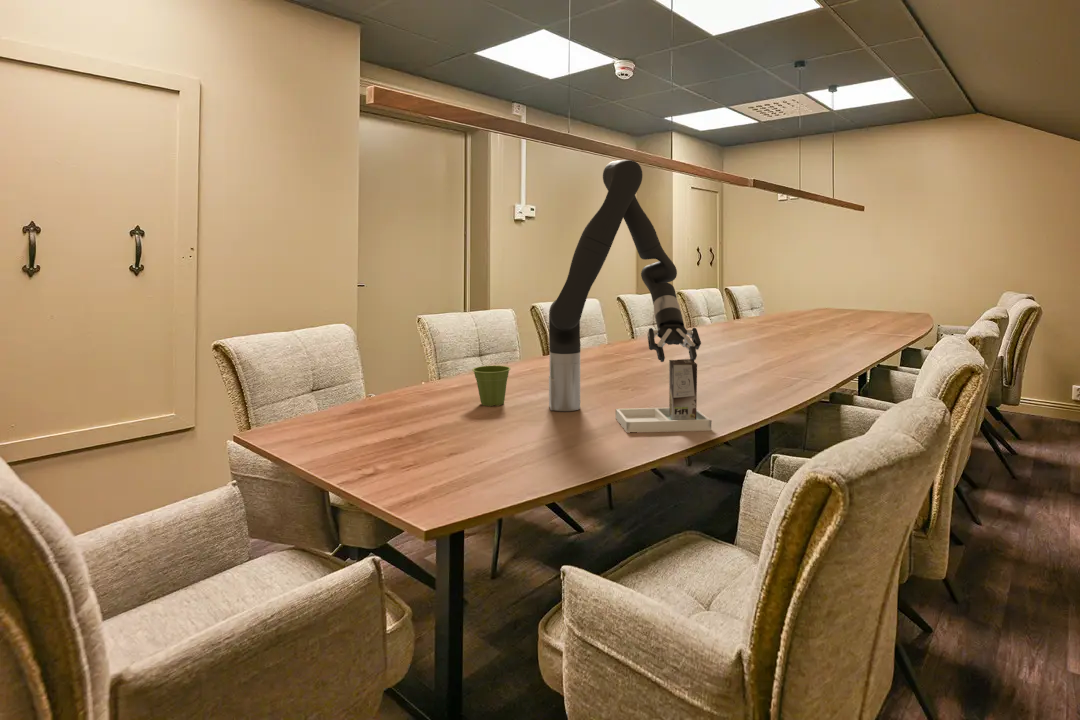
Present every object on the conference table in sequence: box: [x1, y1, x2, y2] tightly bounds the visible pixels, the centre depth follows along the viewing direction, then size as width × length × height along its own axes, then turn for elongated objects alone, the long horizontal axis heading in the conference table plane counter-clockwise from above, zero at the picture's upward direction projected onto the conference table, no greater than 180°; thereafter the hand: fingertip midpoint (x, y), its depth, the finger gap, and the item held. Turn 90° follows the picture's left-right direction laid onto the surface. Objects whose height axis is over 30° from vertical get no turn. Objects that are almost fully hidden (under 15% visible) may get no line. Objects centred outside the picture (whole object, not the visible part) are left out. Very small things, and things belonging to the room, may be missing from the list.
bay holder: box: [615, 407, 713, 434], centre depth 167 cm, size 22×15×3 cm, turn 94°
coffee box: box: [668, 358, 698, 420], centre depth 166 cm, size 9×6×16 cm
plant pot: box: [472, 365, 511, 407], centre depth 191 cm, size 12×12×11 cm
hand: (678, 360), depth 169 cm, fingers open, 8 cm apart
